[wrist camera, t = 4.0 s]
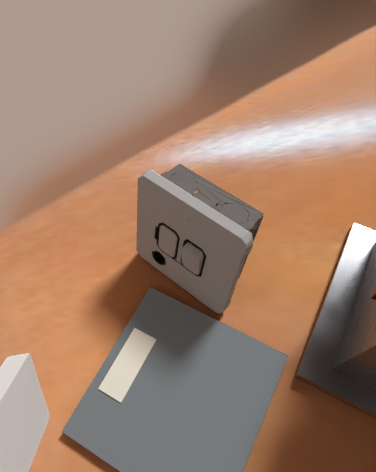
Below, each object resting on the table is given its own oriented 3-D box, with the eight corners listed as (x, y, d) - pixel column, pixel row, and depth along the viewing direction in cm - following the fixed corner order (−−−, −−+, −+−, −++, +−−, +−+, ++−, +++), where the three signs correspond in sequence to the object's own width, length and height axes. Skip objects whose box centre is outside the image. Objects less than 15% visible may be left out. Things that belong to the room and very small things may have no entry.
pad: (151, 289, 30) (149, 286, 30) (286, 357, 27) (288, 355, 26) (64, 431, 26) (61, 431, 25) (217, 535, 22) (217, 538, 22)
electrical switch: (135, 255, 32) (119, 186, 24) (173, 218, 34) (169, 145, 26) (220, 319, 29) (233, 263, 21) (256, 274, 31) (279, 209, 23)
